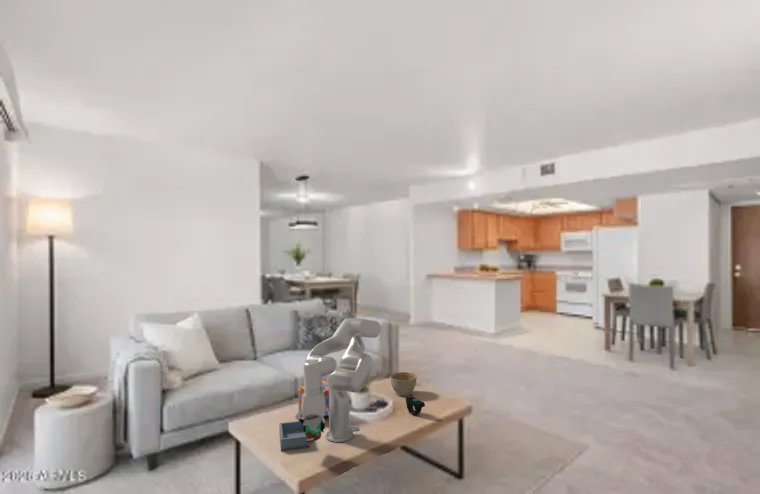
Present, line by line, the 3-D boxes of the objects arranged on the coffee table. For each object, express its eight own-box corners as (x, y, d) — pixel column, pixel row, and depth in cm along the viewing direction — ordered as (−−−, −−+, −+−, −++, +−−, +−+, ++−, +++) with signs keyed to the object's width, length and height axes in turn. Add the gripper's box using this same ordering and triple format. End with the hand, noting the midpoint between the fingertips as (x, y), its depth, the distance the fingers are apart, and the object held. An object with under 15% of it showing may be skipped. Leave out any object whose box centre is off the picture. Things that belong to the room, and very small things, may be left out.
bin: (304, 430, 201) (304, 420, 201) (308, 447, 184) (308, 436, 184) (279, 433, 198) (279, 423, 198) (280, 451, 181) (280, 439, 181)
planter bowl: (384, 394, 251) (384, 376, 251) (400, 387, 263) (400, 370, 263) (406, 400, 240) (406, 382, 241) (422, 393, 253) (421, 375, 253)
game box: (340, 415, 219) (340, 386, 219) (316, 424, 208) (315, 393, 208) (322, 408, 230) (322, 379, 230) (298, 416, 219) (298, 386, 219)
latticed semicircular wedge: (320, 444, 172) (319, 420, 171) (305, 444, 172) (304, 420, 172) (326, 430, 184) (325, 407, 183) (312, 429, 184) (312, 407, 184)
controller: (410, 410, 226) (410, 392, 226) (426, 417, 216) (426, 398, 216) (404, 412, 223) (404, 393, 223) (420, 419, 214) (420, 400, 214)
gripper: (331, 385, 183) (332, 425, 183) (291, 389, 178) (293, 431, 179) (334, 391, 176) (335, 433, 176) (293, 396, 171) (294, 439, 171)
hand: (314, 431), depth 177 cm, fingers closed on latticed semicircular wedge, 6 cm apart
